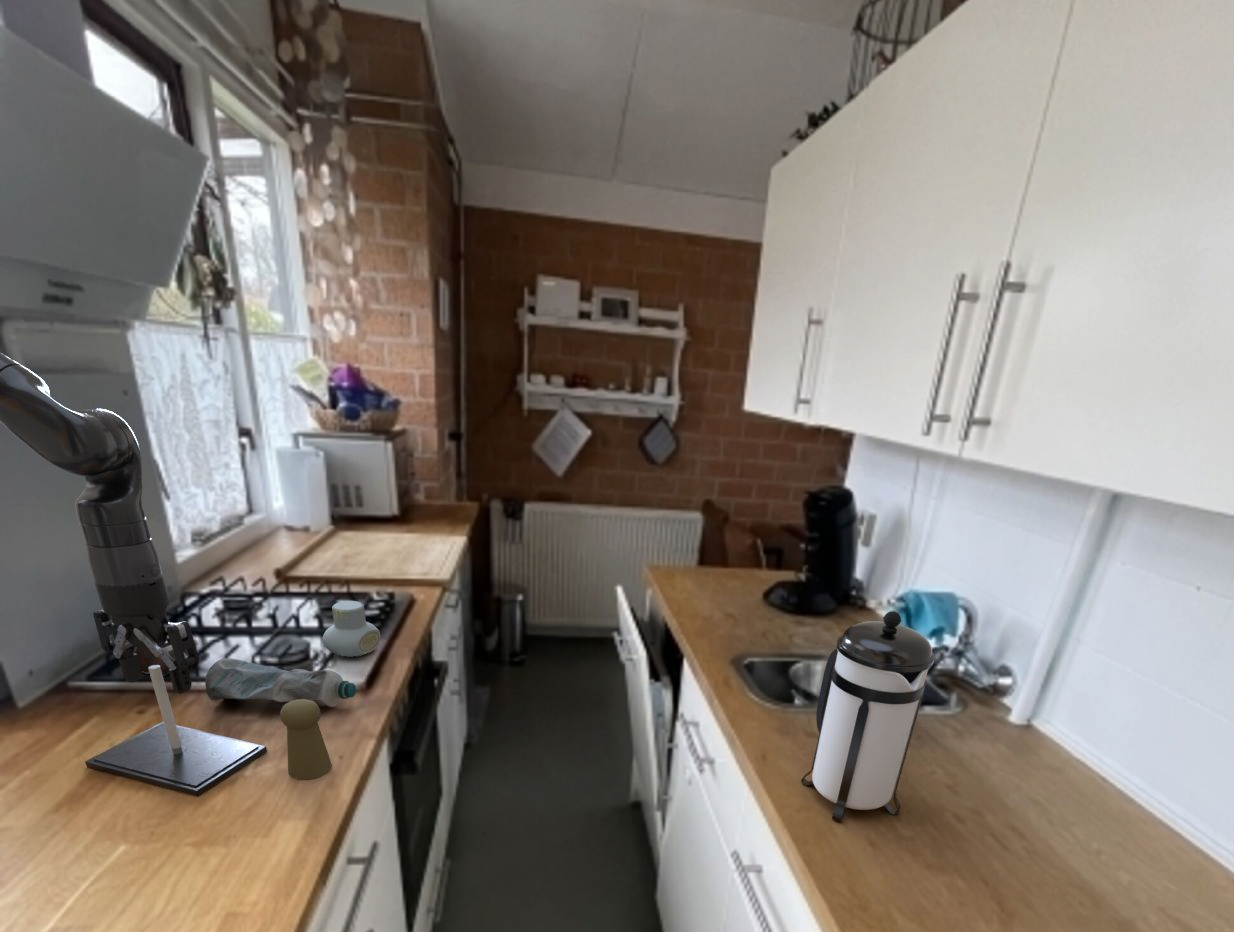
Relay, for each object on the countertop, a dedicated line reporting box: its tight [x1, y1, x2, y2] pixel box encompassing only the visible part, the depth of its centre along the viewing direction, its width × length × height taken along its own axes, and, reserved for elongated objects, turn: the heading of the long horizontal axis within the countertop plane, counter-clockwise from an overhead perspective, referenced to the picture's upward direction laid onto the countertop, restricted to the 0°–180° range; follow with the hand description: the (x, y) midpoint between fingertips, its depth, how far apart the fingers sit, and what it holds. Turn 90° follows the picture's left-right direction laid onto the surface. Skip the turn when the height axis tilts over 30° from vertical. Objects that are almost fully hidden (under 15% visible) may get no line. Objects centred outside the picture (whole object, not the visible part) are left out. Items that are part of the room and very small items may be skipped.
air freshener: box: [322, 600, 382, 658], centre depth 141 cm, size 11×8×10 cm
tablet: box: [84, 721, 268, 797], centre depth 105 cm, size 20×13×1 cm, turn 73°
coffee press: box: [800, 610, 935, 823], centre depth 101 cm, size 17×16×30 cm
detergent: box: [204, 657, 357, 708], centre depth 121 cm, size 13×7×25 cm
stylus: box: [148, 665, 182, 754], centre depth 101 cm, size 1×1×14 cm
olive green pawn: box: [279, 699, 333, 781], centre depth 102 cm, size 6×6×11 cm
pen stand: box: [134, 634, 195, 674], centre depth 131 cm, size 8×8×6 cm
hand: (159, 685), depth 99 cm, fingers open, 8 cm apart
